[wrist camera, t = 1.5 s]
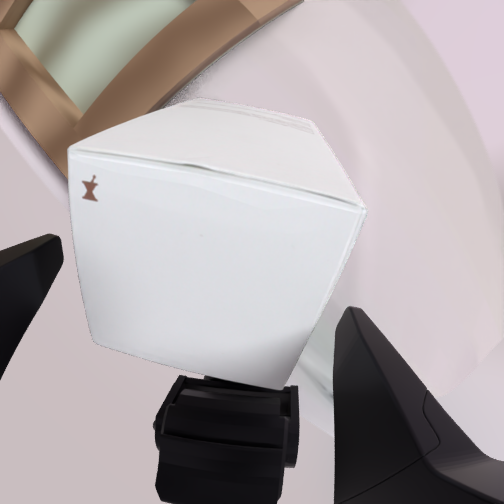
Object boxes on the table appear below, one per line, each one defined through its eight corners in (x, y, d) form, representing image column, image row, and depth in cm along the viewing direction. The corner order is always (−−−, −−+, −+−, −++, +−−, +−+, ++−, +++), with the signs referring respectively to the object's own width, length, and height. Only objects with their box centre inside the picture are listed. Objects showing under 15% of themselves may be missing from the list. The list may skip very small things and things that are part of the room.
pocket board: (303, 1, 13) (306, -11, 11) (96, 178, 20) (77, 191, 18) (136, -123, 6) (122, -136, 4) (-11, 40, 14) (-31, 43, 11)
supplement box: (180, 203, 21) (85, 344, 10) (196, 94, 17) (58, 138, 6) (288, 228, 21) (282, 397, 10) (319, 121, 17) (376, 204, 6)
